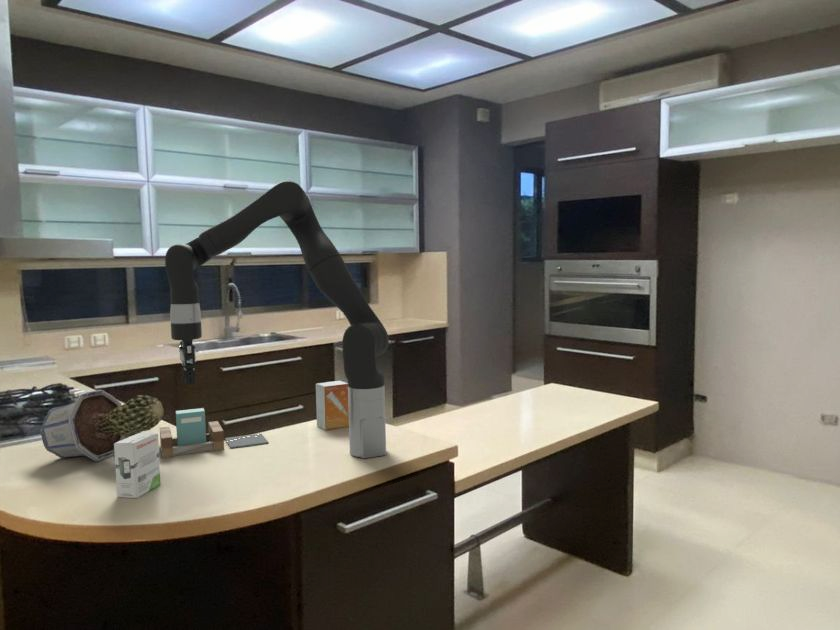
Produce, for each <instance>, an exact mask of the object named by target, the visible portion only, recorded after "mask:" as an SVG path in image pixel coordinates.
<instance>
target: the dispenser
mask: <svg viewBox="0 0 840 630" xmlns="http://www.w3.org/2000/svg"><path fill="white" fill-rule="evenodd" d="M207 423H208V433H206V442H205V443H198V444H190V445H182V446H177V436H176V437H173V434H172V431H171V430H172V429H171V428H170V427H171V426H164V427H159V439H160V440H159V442H160V448H161V449H160V451H161V456H162V457H161V458H162V459H164V458H171V457H172V458H173V457H174V456H182V455H188V454H195V453H201V452H210V451H214V452H216V451H217V452H218V451H223V450H225V437H224V435H225V434H224V429H223V428H222V425H221V424H220V423H219V421H218V420H214V421H208V422H207Z"/></svg>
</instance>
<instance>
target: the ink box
mask: <svg viewBox="0 0 840 630" xmlns="http://www.w3.org/2000/svg"><path fill="white" fill-rule="evenodd" d="M159 445H160V444H159V433H156V432H141V433H138V434H135V435H133V436H131V437H128V438H126V439H123V440H121V441H119V442H116V443H114V452H115V455H114V464H115V479H116V481H115V482H116V496H117V498H127V499H128V498H129V499H138V498H140V497H142V496H143V495H145V494H147V493H148V492H150V491H152V490H153V489H154V488H157V487H158V486H160V485H161V469H160V468H161V467H160V464H161V463H160V448H159V447H160V446H159Z"/></svg>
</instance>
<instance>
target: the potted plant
mask: <svg viewBox="0 0 840 630" xmlns="http://www.w3.org/2000/svg"><path fill="white" fill-rule="evenodd" d="M164 415H165V411H164V408H163V403H162V401H160V400H158V398H156V397H152V396H150V395H147V394H137V395H136V396H134V397H132V398H131V399H129V400H127V402H126V403H123V404H122V403H121V402H120V401H119V400H118V399H117V398H116V397H115V396H113V395H112V394H110V393H108V392H106V390H104V389H97V390H93V391H92V390H91V391H87V392H84V393H80V394H79V396H78V397H77V398H76V401H74V402H72V403H69V404H66V405H61V406H59V407H58V406H57V407H53V408H50V409H49V410H48V411H47V414H46V416H44V420H43V422H42V425H41V427H40V430H39V431H40V435H41V436H40V437H41V440H42V444H43V446H44V448H45V450H46V451H47V452H49V453H51V454H53V455H55V456H56V457H58V458H62V459H67V458H72V457H80V456H83V457H85V456H86V457H88V458H89V459H90V460H92V461H94V462H100V461H103V460H106V459H108V458H111V457H113V456H115V452H114V443H116V442H119V441H121V440H123V439H124V438H125V436H129V435H131V434H133V433H137V432H141V433H144V432H147V431H150V430H152V429H153V428H155V427H156V426H157V425H158V424H159V423H160V422H161V421H162V420H163V416H164Z"/></svg>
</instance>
